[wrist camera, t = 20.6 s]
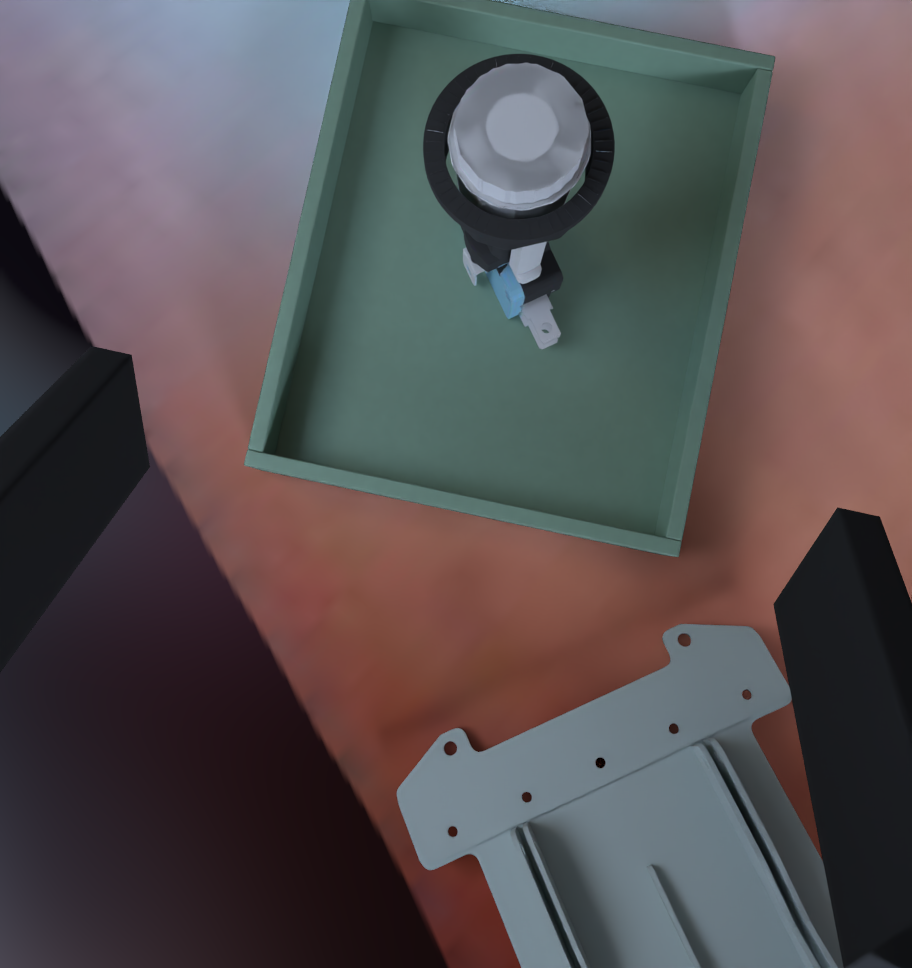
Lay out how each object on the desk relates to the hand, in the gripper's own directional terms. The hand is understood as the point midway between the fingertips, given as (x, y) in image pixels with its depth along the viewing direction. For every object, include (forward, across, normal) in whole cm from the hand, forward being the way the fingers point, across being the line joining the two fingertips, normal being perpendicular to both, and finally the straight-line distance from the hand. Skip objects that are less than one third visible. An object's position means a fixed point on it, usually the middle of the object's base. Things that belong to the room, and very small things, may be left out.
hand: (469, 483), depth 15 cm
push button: (+18, 0, -4) cm, 18 cm away
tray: (+18, 0, -4) cm, 18 cm away
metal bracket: (+3, +9, -19) cm, 22 cm away
